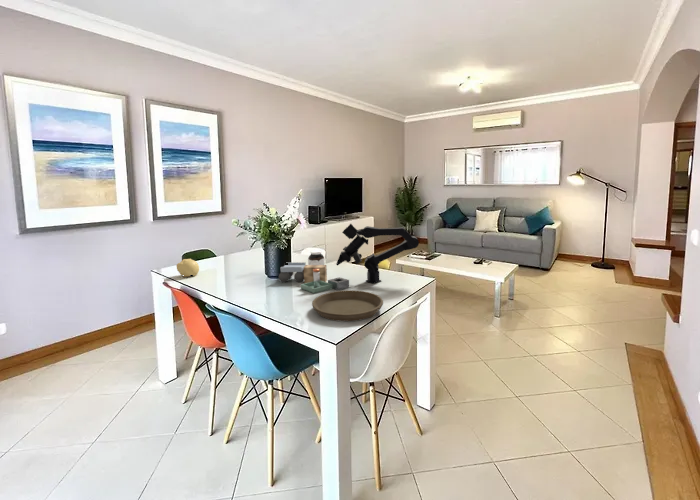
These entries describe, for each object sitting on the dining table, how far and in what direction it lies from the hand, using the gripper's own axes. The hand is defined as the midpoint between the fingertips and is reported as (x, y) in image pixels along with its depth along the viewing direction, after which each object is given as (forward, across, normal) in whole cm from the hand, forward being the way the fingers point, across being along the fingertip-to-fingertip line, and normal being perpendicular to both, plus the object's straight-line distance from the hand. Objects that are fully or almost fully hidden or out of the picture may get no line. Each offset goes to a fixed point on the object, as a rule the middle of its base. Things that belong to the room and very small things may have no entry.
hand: (336, 264), depth 206 cm
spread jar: (+19, +28, +5) cm, 34 cm away
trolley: (+25, +5, +12) cm, 28 cm away
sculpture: (+72, +14, +61) cm, 96 cm away
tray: (+13, -14, 0) cm, 20 cm away
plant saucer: (+1, -46, -14) cm, 48 cm away
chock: (+16, 0, +2) cm, 16 cm away
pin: (+13, -14, 0) cm, 19 cm away
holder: (+6, -11, -8) cm, 15 cm away
